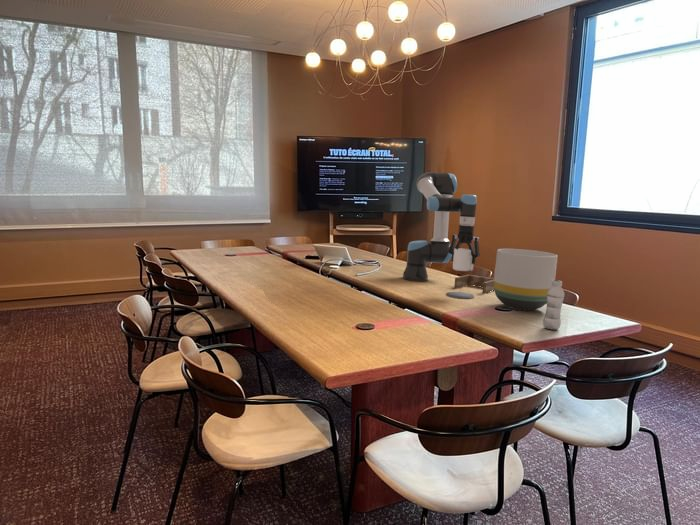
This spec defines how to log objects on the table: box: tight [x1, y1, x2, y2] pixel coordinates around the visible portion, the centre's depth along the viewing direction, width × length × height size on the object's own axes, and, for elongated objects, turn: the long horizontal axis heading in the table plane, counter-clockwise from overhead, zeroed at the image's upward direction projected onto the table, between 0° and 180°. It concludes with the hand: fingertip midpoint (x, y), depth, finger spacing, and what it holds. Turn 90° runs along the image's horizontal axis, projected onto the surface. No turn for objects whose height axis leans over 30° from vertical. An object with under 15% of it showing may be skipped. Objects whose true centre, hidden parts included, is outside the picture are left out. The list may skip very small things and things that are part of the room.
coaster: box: [446, 291, 475, 300], centre depth 245 cm, size 14×14×1 cm
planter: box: [493, 248, 558, 311], centre depth 223 cm, size 27×27×27 cm
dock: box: [453, 274, 494, 294], centre depth 266 cm, size 18×18×6 cm
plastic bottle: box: [542, 279, 566, 331], centre depth 189 cm, size 6×7×20 cm
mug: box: [452, 247, 472, 272], centre depth 242 cm, size 9×12×11 cm
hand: (462, 268), depth 243 cm, fingers closed on mug, 9 cm apart
